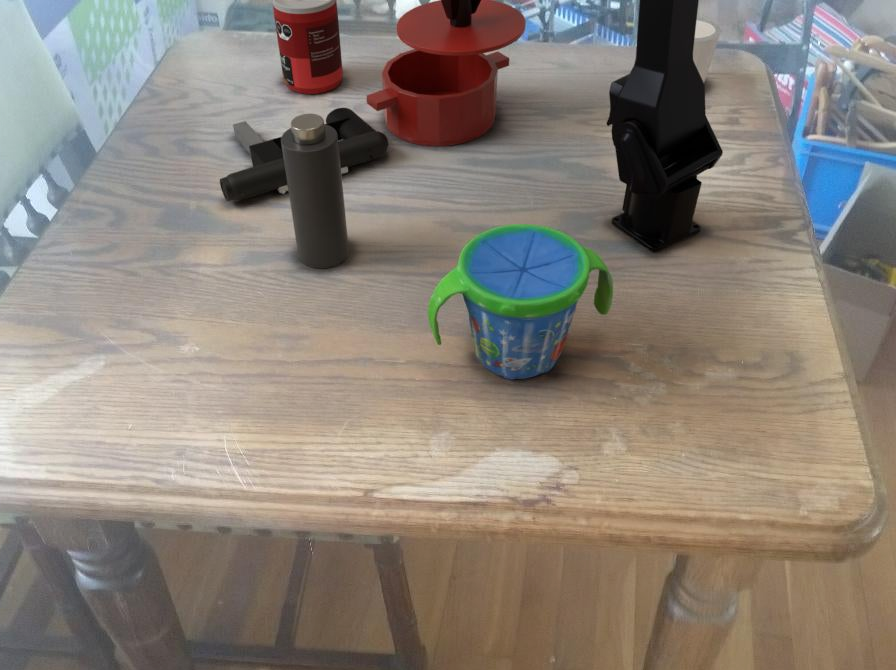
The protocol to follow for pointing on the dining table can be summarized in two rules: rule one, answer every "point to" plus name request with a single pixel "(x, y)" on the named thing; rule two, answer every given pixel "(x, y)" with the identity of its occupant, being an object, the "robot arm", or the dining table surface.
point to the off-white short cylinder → (705, 45)
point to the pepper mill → (315, 191)
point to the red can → (309, 44)
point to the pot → (439, 96)
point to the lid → (461, 28)
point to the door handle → (269, 158)
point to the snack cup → (521, 295)
